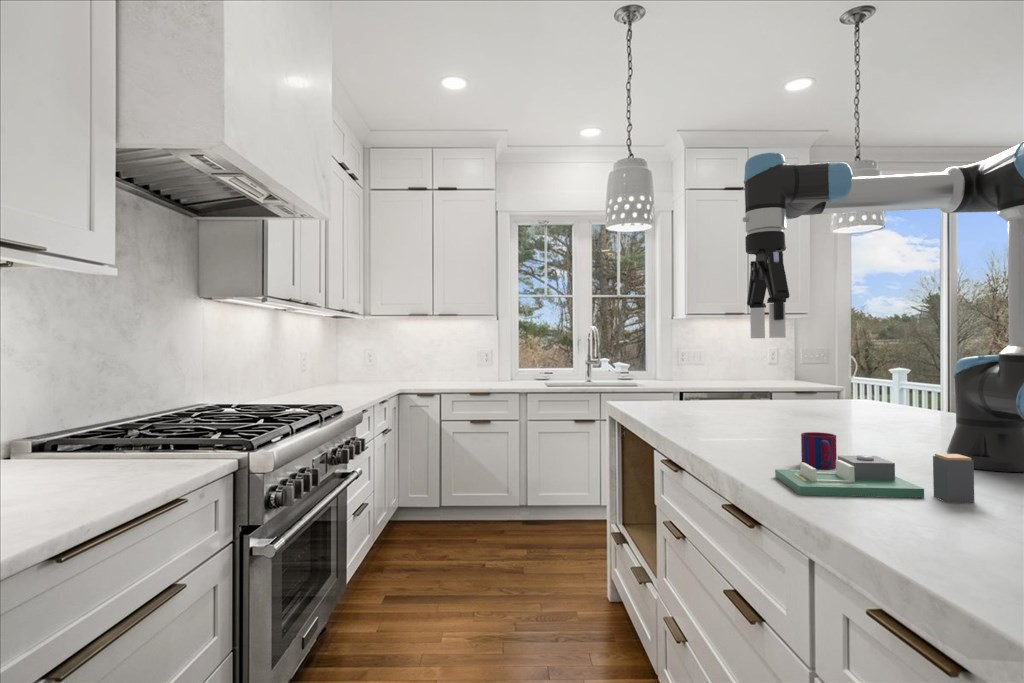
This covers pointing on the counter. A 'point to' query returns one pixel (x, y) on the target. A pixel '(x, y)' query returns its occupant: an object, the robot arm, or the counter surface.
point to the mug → (819, 450)
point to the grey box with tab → (870, 467)
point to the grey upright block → (953, 478)
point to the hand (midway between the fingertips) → (767, 338)
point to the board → (843, 483)
